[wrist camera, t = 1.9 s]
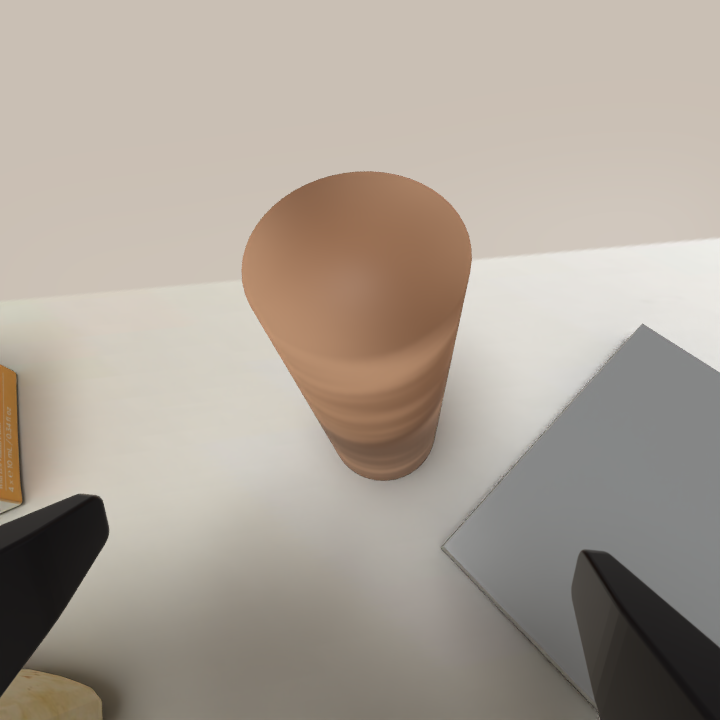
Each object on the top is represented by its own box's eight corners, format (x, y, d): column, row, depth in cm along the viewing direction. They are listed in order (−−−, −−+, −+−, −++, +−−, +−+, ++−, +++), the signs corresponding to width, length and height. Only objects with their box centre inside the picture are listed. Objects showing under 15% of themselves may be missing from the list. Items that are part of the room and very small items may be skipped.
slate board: (662, 778, 15) (688, 799, 13) (440, 547, 18) (443, 546, 17) (848, 483, 18) (883, 476, 17) (627, 338, 22) (642, 323, 20)
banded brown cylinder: (382, 504, 19) (347, 407, 8) (311, 428, 21) (198, 260, 10) (456, 427, 21) (521, 245, 9) (383, 362, 23) (358, 142, 11)
